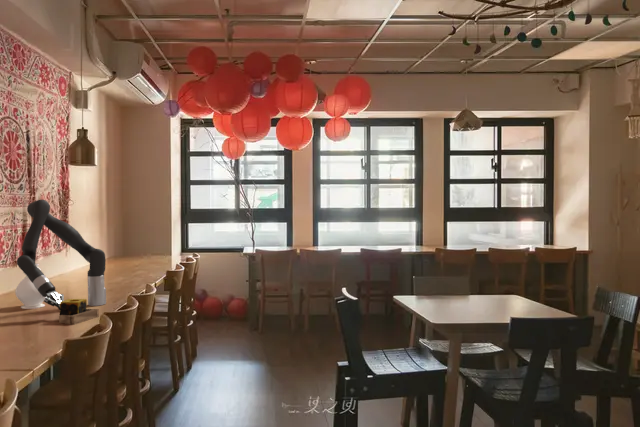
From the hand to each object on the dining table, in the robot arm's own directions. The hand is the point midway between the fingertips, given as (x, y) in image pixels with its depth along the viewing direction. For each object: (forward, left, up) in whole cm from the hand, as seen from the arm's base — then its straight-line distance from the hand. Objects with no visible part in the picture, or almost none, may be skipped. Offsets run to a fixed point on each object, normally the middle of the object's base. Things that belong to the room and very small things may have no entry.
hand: (63, 310), depth 297 cm
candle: (-2, +5, -5) cm, 7 cm away
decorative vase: (-13, -47, -5) cm, 49 cm away
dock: (-3, +9, -5) cm, 11 cm away
